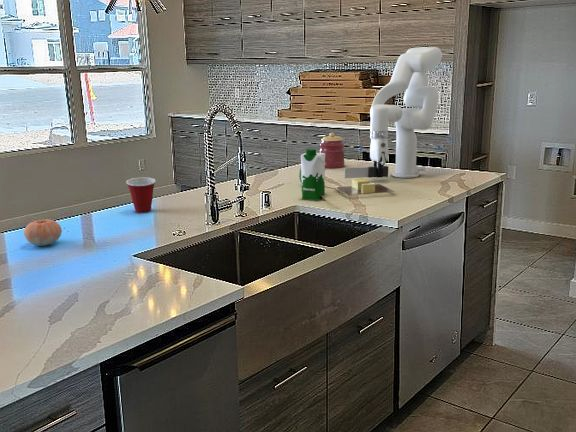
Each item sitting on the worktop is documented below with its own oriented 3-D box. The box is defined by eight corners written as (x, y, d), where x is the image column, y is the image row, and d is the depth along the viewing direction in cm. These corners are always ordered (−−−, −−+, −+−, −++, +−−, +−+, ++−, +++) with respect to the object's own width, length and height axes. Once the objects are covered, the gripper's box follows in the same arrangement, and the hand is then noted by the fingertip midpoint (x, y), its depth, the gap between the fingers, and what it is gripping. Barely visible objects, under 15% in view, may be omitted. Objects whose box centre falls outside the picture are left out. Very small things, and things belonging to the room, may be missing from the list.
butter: (362, 186, 251) (362, 178, 250) (369, 189, 245) (369, 181, 244) (351, 187, 250) (351, 179, 249) (357, 190, 243) (357, 182, 242)
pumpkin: (25, 251, 177) (22, 225, 175) (25, 241, 187) (22, 217, 185) (64, 246, 181) (61, 221, 179) (62, 237, 191) (59, 213, 189)
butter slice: (372, 191, 241) (373, 183, 240) (374, 192, 239) (375, 184, 238) (361, 192, 239) (361, 184, 239) (363, 193, 238) (363, 184, 237)
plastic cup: (132, 216, 215) (129, 184, 212) (125, 210, 225) (122, 179, 222) (161, 212, 220) (159, 180, 217) (153, 206, 230) (151, 176, 226)
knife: (385, 175, 262) (386, 165, 261) (388, 176, 260) (388, 166, 259) (343, 177, 257) (343, 167, 256) (345, 178, 255) (345, 168, 254)
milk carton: (299, 199, 236) (298, 150, 231) (307, 194, 244) (307, 146, 239) (319, 201, 232) (319, 151, 227) (327, 196, 240) (327, 147, 235)
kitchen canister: (318, 168, 303) (318, 133, 299) (321, 164, 315) (320, 131, 311) (343, 168, 301) (343, 133, 296) (345, 164, 313) (345, 130, 309)
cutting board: (379, 187, 255) (379, 183, 255) (395, 195, 240) (395, 191, 240) (335, 190, 250) (335, 187, 250) (349, 198, 235) (349, 195, 235)
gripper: (394, 136, 249) (393, 179, 254) (379, 132, 264) (378, 173, 269) (378, 137, 247) (377, 180, 252) (363, 133, 262) (362, 174, 267)
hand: (377, 176), depth 260 cm, fingers closed on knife, 2 cm apart
